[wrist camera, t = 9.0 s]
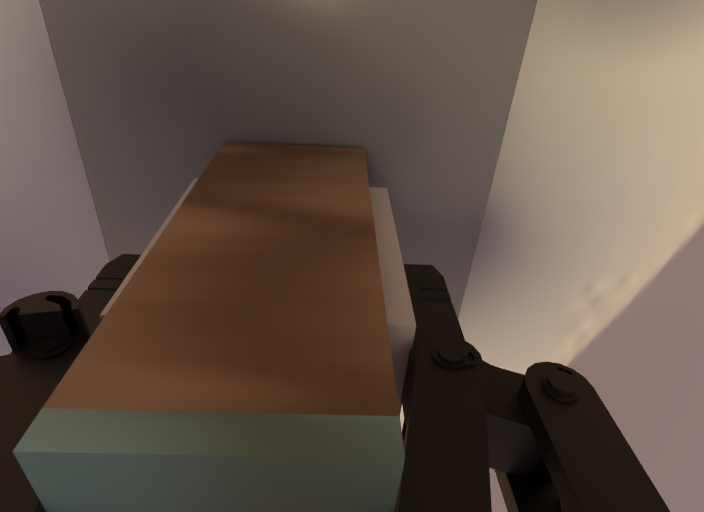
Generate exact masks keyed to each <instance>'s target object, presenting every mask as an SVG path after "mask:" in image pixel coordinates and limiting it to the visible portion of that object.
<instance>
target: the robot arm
mask: <svg viewBox="0 0 704 512" xmlns="http://www.w3.org/2000/svg"><path fill="white" fill-rule="evenodd" d="M198 179H199V178H194V180H193V181H192V183H191V184H190V185H189V187H188V188H187V190H186V191H185V193H184V194H183V196H182V197H181V198H180V200H179V201H178V203H177V204H176V206H175V207H174V209H173V210H172V211H171V213H170V214H169V216H168V217H167V219H166V220H165V222H164V223H163V224H162V226H161V227H160V229H159V230H158V232H157V233H156V235H155V236H154V237H153V239H152V240H151V242H150V243H149V245H148V246H147V248H146V249H145V250H144V252H143V253H142V255H141V254H122V255H120V256H118V257H117V258H115V259H114V260H112V261H111V262H109V263H107V264H106V265H105V266H104V268H103V269H102V270H101V271H100V273H99V274H98V275H97V276H96V280H93V281H92V283H91V284H90V285H89V287H88V290H85V292H84V293H83V294H82V295H81V297H80V298H79V299H77V298H76V297H75V296H74V295H73V294H70V293H66V292H63V291H48V292H42V293H37V294H32V295H30V296H27V297H24V298H22V299H19V300H17V301H15V302H14V303H12V304H11V305H9V306H7V307H6V308H5V309H4V310H3V311H2V312H1V313H0V325H1V327H2V329H3V331H4V334H5V336H6V338H7V340H8V342H9V344H10V346H11V348H12V352H11V354H9V355H5V356H0V512H46V511H45V509H44V507H43V505H42V503H41V502H40V500H39V498H38V496H37V494H36V493H35V491H34V489H33V487H32V486H31V484H30V482H29V480H28V478H27V477H26V475H25V473H24V471H23V470H22V468H21V466H20V464H19V462H18V461H17V459H16V457H15V455H14V453H13V452H12V451H13V450H14V449H15V447H16V446H17V444H18V443H19V441H20V440H21V438H22V437H23V435H24V434H25V432H26V431H27V429H28V428H29V427H30V425H31V424H32V422H33V421H34V419H35V418H36V416H37V415H38V413H39V412H40V410H41V409H42V408H43V406H44V405H45V403H46V402H47V400H48V399H49V397H50V396H51V394H52V393H53V391H54V390H55V388H56V387H57V386H58V384H59V383H60V381H61V380H62V378H63V377H64V375H65V374H66V372H67V371H68V369H69V368H70V367H71V365H72V364H73V362H74V361H75V359H76V358H77V356H78V355H79V353H80V352H81V350H82V349H83V347H84V346H85V345H86V343H87V342H88V340H89V339H90V337H91V336H92V334H93V333H94V331H95V330H96V328H97V327H98V325H99V324H100V323H101V321H102V320H103V318H104V317H105V315H106V314H107V312H108V311H109V309H110V308H111V306H112V305H113V304H114V302H115V301H116V299H117V298H118V296H119V295H120V293H121V292H122V290H123V289H124V287H125V286H126V284H127V283H128V282H129V280H130V279H131V277H132V276H133V274H134V273H135V271H136V270H137V268H138V267H139V265H140V264H141V263H142V261H143V260H144V258H145V257H146V255H147V254H148V252H149V251H150V249H151V248H152V246H153V245H154V243H155V242H156V241H157V239H158V238H159V236H160V235H161V233H162V232H163V230H164V229H165V227H166V226H167V224H168V223H169V222H170V220H171V219H172V217H173V216H174V214H175V213H176V211H177V210H178V208H179V207H180V205H181V204H182V202H183V201H184V200H185V198H186V197H187V195H188V194H189V192H190V191H191V189H192V188H193V186H194V185H195V183H196V182H197V180H198ZM369 188H370V196H371V203H372V211H373V219H374V226H375V234H376V241H377V249H378V257H379V264H380V272H381V279H382V287H383V295H384V302H385V310H386V317H387V325H388V333H389V340H390V348H391V355H392V363H393V370H394V378H395V386H396V393H397V401H398V408H399V416H400V411H401V406H402V405H403V412H404V423H403V428H402V439H403V446H404V454H405V462H404V466H403V471H402V476H401V481H400V486H399V491H398V495H397V500H396V505H395V510H394V512H492V511H491V493H490V474H489V468H492V469H495V472H496V476H497V479H498V482H499V485H500V488H501V491H502V494H503V498H504V501H505V504H506V507H507V510H508V512H670V511H669V509H668V507H667V506H666V504H665V502H664V501H663V499H662V498H661V496H660V494H659V493H658V491H657V489H656V488H655V486H654V485H653V483H652V481H651V480H650V478H649V477H648V475H647V473H646V472H645V470H644V469H643V467H642V465H641V464H640V462H639V460H638V459H637V457H636V456H635V454H634V452H633V451H632V449H631V447H630V446H629V444H628V443H627V441H626V439H625V438H624V436H623V434H622V433H621V431H620V430H619V428H618V426H617V425H616V423H615V422H614V420H613V418H612V417H611V415H610V413H609V412H608V410H607V409H606V407H605V405H604V404H603V402H602V401H601V399H600V397H599V396H598V394H597V392H596V391H595V389H594V388H593V387H592V385H591V384H590V383H589V382H588V381H587V379H586V378H585V377H583V376H582V375H580V374H579V373H577V372H576V371H575V370H573V369H571V368H569V367H566V366H564V365H561V364H558V363H552V362H540V363H535V364H533V365H532V366H530V367H529V368H528V369H527V371H526V374H525V375H523V374H519V373H515V372H512V371H508V370H505V369H501V368H498V367H495V366H493V365H490V364H488V363H486V362H485V361H483V360H482V358H481V355H480V353H479V352H478V351H477V350H476V349H475V348H474V346H472V345H471V344H469V343H468V342H466V341H465V339H464V336H463V333H462V330H461V327H460V324H459V321H458V318H457V315H456V312H455V310H454V307H453V304H452V302H451V298H450V295H449V292H448V289H447V286H446V283H445V280H444V277H443V276H442V274H441V273H440V272H439V271H438V270H437V269H436V268H435V267H434V266H433V265H418V264H403V261H402V256H401V251H400V247H399V242H398V237H397V233H396V228H395V223H394V219H393V214H392V209H391V204H390V200H389V195H388V190H387V188H380V187H369Z"/></svg>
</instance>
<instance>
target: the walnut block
mask: <svg viewBox="0 0 704 512" xmlns="http://www.w3.org/2000/svg"><path fill="white" fill-rule="evenodd" d="M12 452H13V453H14V455H15V457H16V459H17V461H18V462H19V464H20V466H21V468H22V470H23V471H24V473H25V475H26V477H27V478H28V480H29V482H30V484H31V486H32V487H33V489H34V491H35V493H36V494H37V496H38V498H39V500H40V502H41V503H42V505H43V507H44V509H45V511H46V512H394V510H395V505H396V500H397V495H398V491H399V486H400V481H401V476H402V471H403V466H404V462H405V454H404V446H403V439H402V431H401V424H400V416H399V408H398V401H397V393H396V386H395V378H394V370H393V363H392V355H391V348H390V340H389V333H388V325H387V317H386V310H385V302H384V295H383V287H382V279H381V272H380V264H379V257H378V249H377V241H376V234H375V226H374V219H373V211H372V203H371V196H370V188H369V181H368V173H367V166H366V158H365V150H364V149H361V148H342V147H323V146H304V145H285V144H266V143H247V142H229V141H224V142H223V144H222V145H221V147H220V148H219V150H218V151H217V153H216V154H215V156H214V157H213V159H212V160H211V161H210V163H209V164H208V166H207V167H206V169H205V170H204V172H203V173H202V175H201V176H200V178H199V179H198V180H197V182H196V183H195V185H194V186H193V188H192V189H191V191H190V192H189V194H188V195H187V197H186V198H185V200H184V201H183V202H182V204H181V205H180V207H179V208H178V210H177V211H176V213H175V214H174V216H173V217H172V219H171V220H170V222H169V223H168V224H167V226H166V227H165V229H164V230H163V232H162V233H161V235H160V236H159V238H158V239H157V241H156V242H155V243H154V245H153V246H152V248H151V249H150V251H149V252H148V254H147V255H146V257H145V258H144V260H143V261H142V263H141V264H140V265H139V267H138V268H137V270H136V271H135V273H134V274H133V276H132V277H131V279H130V280H129V282H128V283H127V284H126V286H125V287H124V289H123V290H122V292H121V293H120V295H119V296H118V298H117V299H116V301H115V302H114V304H113V305H112V306H111V308H110V309H109V311H108V312H107V314H106V315H105V317H104V318H103V320H102V321H101V323H100V324H99V325H98V327H97V328H96V330H95V331H94V333H93V334H92V336H91V337H90V339H89V340H88V342H87V343H86V345H85V346H84V347H83V349H82V350H81V352H80V353H79V355H78V356H77V358H76V359H75V361H74V362H73V364H72V365H71V367H70V368H69V369H68V371H67V372H66V374H65V375H64V377H63V378H62V380H61V381H60V383H59V384H58V386H57V387H56V388H55V390H54V391H53V393H52V394H51V396H50V397H49V399H48V400H47V402H46V403H45V405H44V406H43V408H42V409H41V410H40V412H39V413H38V415H37V416H36V418H35V419H34V421H33V422H32V424H31V425H30V427H29V428H28V429H27V431H26V432H25V434H24V435H23V437H22V438H21V440H20V441H19V443H18V444H17V446H16V447H15V449H14V450H13V451H12Z"/></svg>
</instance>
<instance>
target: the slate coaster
mask: <svg viewBox="0 0 704 512" xmlns="http://www.w3.org/2000/svg"><path fill="white" fill-rule="evenodd" d="M39 2H40V6H41V9H42V13H43V17H44V20H45V24H46V28H47V31H48V35H49V39H50V42H51V46H52V50H53V53H54V57H55V61H56V64H57V68H58V72H59V76H60V79H61V83H62V87H63V90H64V94H65V98H66V101H67V105H68V109H69V112H70V116H71V120H72V123H73V127H74V131H75V134H76V138H77V142H78V145H79V149H80V153H81V156H82V160H83V164H84V167H85V171H86V175H87V178H88V182H89V186H90V189H91V193H92V197H93V200H94V204H95V208H96V211H97V215H98V219H99V222H100V226H101V230H102V233H103V237H104V241H105V245H106V248H107V252H108V256H109V259H110V262H111V261H112V260H114V259H115V258H117V257H118V256H120V255H122V254H141V255H142V253H143V252H144V250H145V249H146V248H147V246H148V245H149V243H150V242H151V240H152V239H153V237H154V236H155V235H156V233H157V232H158V230H159V229H160V227H161V226H162V224H163V223H164V222H165V220H166V219H167V217H168V216H169V214H170V213H171V211H172V210H173V209H174V207H175V206H176V204H177V203H178V201H179V200H180V198H181V197H182V196H183V194H184V193H185V191H186V190H187V188H188V187H189V185H190V184H191V183H192V181H193V180H194V178H200V176H201V175H202V173H203V172H204V170H205V169H206V167H207V166H208V164H209V163H210V161H211V160H212V159H213V157H214V156H215V154H216V153H217V151H218V150H219V148H220V147H221V145H222V144H223V142H224V141H229V142H247V143H266V144H285V145H304V146H323V147H342V148H361V149H364V150H365V158H366V166H367V173H368V181H369V187H380V188H387V190H388V195H389V200H390V204H391V209H392V214H393V219H394V223H395V228H396V233H397V237H398V242H399V247H400V251H401V256H402V261H403V264H418V265H433V266H434V267H435V268H436V269H437V270H438V271H439V272H440V273H441V274H442V276H443V277H444V280H445V283H446V286H447V289H448V292H449V295H450V298H451V302H452V304H453V307H454V310H455V312H456V315H457V318H458V315H459V311H460V307H461V303H462V299H463V295H464V291H465V287H466V283H467V279H468V275H469V271H470V267H471V263H472V259H473V255H474V251H475V247H476V243H477V239H478V235H479V231H480V227H481V223H482V219H483V215H484V211H485V207H486V203H487V199H488V195H489V191H490V187H491V183H492V179H493V175H494V171H495V167H496V163H497V159H498V155H499V151H500V147H501V143H502V139H503V135H504V131H505V127H506V123H507V119H508V115H509V111H510V107H511V103H512V99H513V95H514V91H515V87H516V83H517V79H518V75H519V71H520V67H521V63H522V59H523V55H524V51H525V47H526V43H527V39H528V35H529V31H530V27H531V23H532V19H533V15H534V11H535V7H536V3H537V0H39Z"/></svg>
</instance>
